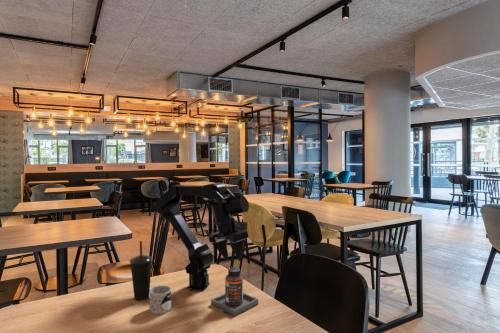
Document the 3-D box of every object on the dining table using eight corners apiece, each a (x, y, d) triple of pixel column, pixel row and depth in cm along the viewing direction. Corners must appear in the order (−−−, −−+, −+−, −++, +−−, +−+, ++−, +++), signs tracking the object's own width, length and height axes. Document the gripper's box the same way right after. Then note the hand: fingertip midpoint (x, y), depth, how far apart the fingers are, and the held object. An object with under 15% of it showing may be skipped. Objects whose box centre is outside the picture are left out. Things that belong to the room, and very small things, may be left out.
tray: (210, 304, 106) (210, 299, 106) (235, 294, 114) (235, 289, 114) (234, 316, 98) (234, 311, 98) (258, 304, 106) (258, 298, 106)
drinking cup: (156, 293, 115) (155, 238, 114) (147, 303, 107) (146, 244, 106) (136, 292, 116) (135, 238, 115) (126, 302, 108) (125, 244, 107)
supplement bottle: (227, 307, 102) (226, 273, 102) (223, 299, 108) (223, 267, 108) (245, 305, 104) (244, 271, 104) (240, 297, 110) (240, 265, 109)
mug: (165, 316, 99) (165, 295, 99) (145, 314, 100) (145, 293, 100) (178, 301, 109) (178, 282, 108) (160, 299, 110) (160, 280, 110)
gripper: (255, 209, 111) (266, 253, 110) (228, 213, 126) (237, 252, 125) (229, 217, 105) (240, 264, 104) (203, 221, 120) (213, 261, 119)
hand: (233, 259), depth 113 cm, fingers open, 9 cm apart
